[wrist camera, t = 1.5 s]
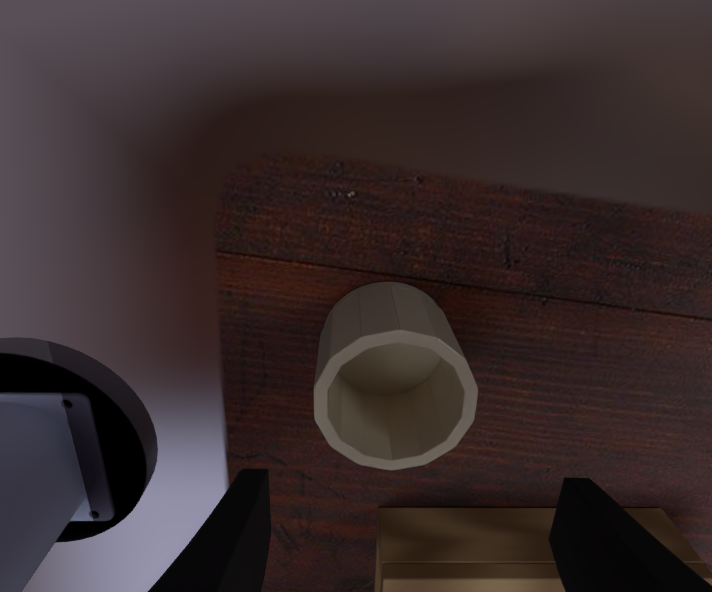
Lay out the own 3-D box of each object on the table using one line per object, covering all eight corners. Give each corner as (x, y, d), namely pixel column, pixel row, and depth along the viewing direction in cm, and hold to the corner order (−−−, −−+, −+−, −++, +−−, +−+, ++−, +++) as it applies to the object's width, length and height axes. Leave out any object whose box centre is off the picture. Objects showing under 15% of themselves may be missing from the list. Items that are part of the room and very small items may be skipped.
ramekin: (321, 396, 20) (314, 470, 16) (320, 278, 18) (312, 328, 14) (443, 397, 20) (468, 471, 16) (455, 280, 18) (486, 330, 14)
